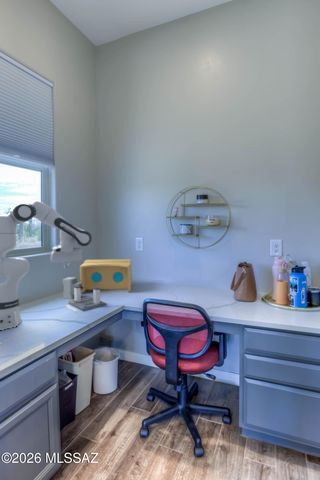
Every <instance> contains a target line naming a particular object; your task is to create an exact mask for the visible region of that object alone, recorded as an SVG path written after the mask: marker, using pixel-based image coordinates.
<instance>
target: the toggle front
mask: <svg viewBox="0 0 320 480" xmlns="http://www.w3.org/2000/svg"><path fill="white" fill-rule="evenodd" d="M92 292H93V293H92V295H93V296H92V297H93V302H94V303H95V304H99V303H100V301H101V289H100V288H99V287H94V288H93V290H92Z"/></svg>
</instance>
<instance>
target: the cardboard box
mask: <svg viewBox="0 0 320 480" xmlns="http://www.w3.org/2000/svg"><path fill="white" fill-rule="evenodd" d="M132 280H133V279H132V259H131V258H130V259H129V258H126V259H125V258H123V259H121V258H120V259H117V258H116V259H112V258H111V259H85V260H84V262H83V263H82V264H81V265H79V282H82V287H83V292H81V294H82V293H85V292H86V291H87V290H89V291H90V290H91V291H93V288H94V287H99V288H100V290H127V292H128V293H130V292H131V289H132V286H131V285H132V282H133V281H132Z"/></svg>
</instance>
